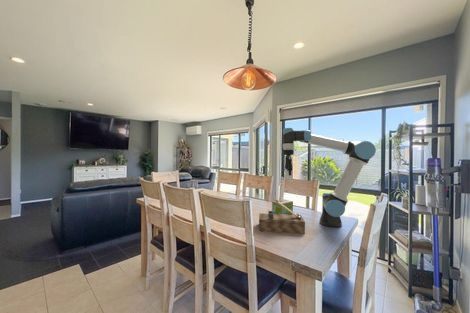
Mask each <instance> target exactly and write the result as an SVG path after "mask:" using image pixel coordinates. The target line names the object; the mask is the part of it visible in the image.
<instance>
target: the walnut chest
mask: <svg viewBox="0 0 470 313" xmlns="http://www.w3.org/2000/svg"><path fill="white" fill-rule="evenodd" d="M296 214H297V215H299V216H300V217H298V218H297V217H296V216H295V215H287V214H273V211H272V210H268V212H267V213H259V214H258V215H259V216H258V217H259V218H258V222H259V223H258V228H259V229H258V231H259V232H270V233H273V232H274V233H290V234H291V233H292V234H306V221H305V218H304V217H303V215H301V214H299V213H296Z"/></svg>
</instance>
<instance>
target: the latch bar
mask: <svg viewBox="0 0 470 313" xmlns="http://www.w3.org/2000/svg"><path fill="white" fill-rule="evenodd" d="M278 200H279V199H278V198H275V199H274V201H275V202H277V203H278V204H279V205H281V206H282V207H284V208H285V209H286V210H288V211H289V212H290V213H292V214H293V215H295V216H296V217H297V218H298V217H300V216H299V215H300V214H299V215H297V214H298V213H295V212H294V211H293V212H292V211H291V210H290V209H288V208H287V207H285V206H284V205H283V204H281V203H280V202H279V201H278Z"/></svg>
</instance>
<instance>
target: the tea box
mask: <svg viewBox="0 0 470 313" xmlns="http://www.w3.org/2000/svg"><path fill="white" fill-rule="evenodd" d="M278 201H279V202H280V203H281V204H283V205H284V206H285V207H287V208H288V209H290V210H291V211H292V212H294V211H293V210H294V201H293V200H289V199H284V198H283V199H278ZM271 211H273V214H287V215H293V214H292V213H290V212H289V211H288V210H286V209H285V208H284V207H282V206H281V205H279V204H278V203H277V202H275V200H273V201H272V202H271Z"/></svg>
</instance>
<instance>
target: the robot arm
mask: <svg viewBox="0 0 470 313" xmlns="http://www.w3.org/2000/svg"><path fill="white" fill-rule="evenodd" d="M294 142H300V143H303V144H304V143H305V144H309V145H313V146H317V147H321V148H325V149H328V150H329V149H330V150H334V151H338V152H342V154H344V155H348V159H349V161H348V163H347V165H346V167H345V169H344V171H343V173H342V175H341V177H340V178H339V180H338V181H337V182H338V183H337V185H336V186H335V188H334V190H333V191H332V192H323V193H322V195H321V197H322V203H321V204H322V206H321V211H322V212H321V215H320V218H319V224H320V225H322V226H325V227H331V228H340V227H342V226H343V222H342V219H341V216H343V215H344V214H345V212H346V205H347V203H348V196H349V194H350V192H351V190H352V188H353V186H354V184H355V183H356V181H357V179H358V177H359V175H360V173H361V171H362V169H363V168H364V166H366V165H368V164H369V162H370V159H373V157H374V156H375V154H376V151H377V149H376V147H375V145H374V143H372V142H370V141H367V140H360V141H351V140H350V141H349V140H347V141H342V140H339V139H335V138H330V137H327V136H326V137H325V136H322V135H316V134H312V131H311V130H310V129H309V130H308V129H305V130H294V127H285V128H283V130H282V149H283V150H282V155H284V159H285V160H284V162H285V163H284V168H285V171H284V174H285V176H284V177H285V178H286V179H287V181H292V180H293V177H292V176H293V162H292V159H293V158H292V157H293V156H294V153H295V152H294V151H295V150H294V148H295V147H294V146H295V144H294Z"/></svg>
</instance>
